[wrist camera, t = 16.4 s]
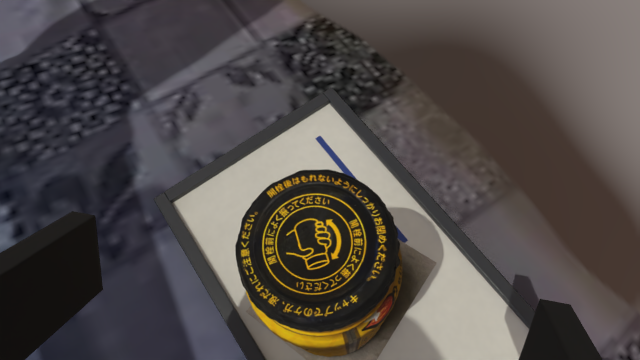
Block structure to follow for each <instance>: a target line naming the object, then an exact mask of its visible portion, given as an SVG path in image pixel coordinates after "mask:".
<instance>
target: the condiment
mask: <svg viewBox="0 0 640 360" xmlns="http://www.w3.org/2000/svg"><path fill="white" fill-rule="evenodd" d="M235 255H236V261H237V266H238V271H239V274H240V278H241V282H242V285H243V287H244V288H245V289H246V294H247V296H248V299H249V301H250V303H251V306H250V307H249V309H248V310H247V311H246V312H247V313H248V314H249V315H250V316H252V317H253V318H254V319H256V320H257V321H258V322H259V323H261V324H262V325H263V326H264V327H266V328H267V329H268V330H269V331H271V332H272V333H273V334H274V335H276V336H277V337H278V338H280V339H281V340H282V341H283V342H285V343H286V344H287V345H288V346H290V347H291V348H292V349H293V350H295V351H296V352H297V353H298V354H300V355H301V356H302V357H303V358H305V359H306V360H377V359H378V357H379V355H380V354H381V352H382V350H383V349H384V347H385V346H386V344H387V342H388V341H389V339H390V338H391V336H392V334H393V333H394V331H395V330H396V328H397V326H398V325H399V323H400V321H401V320H402V318H403V317H404V315H405V314H406V312H407V310H408V309H409V307H410V305H411V304H412V302H413V301H414V299H415V297H416V296H417V294H418V293H419V291H420V289H421V288H422V286H423V284H424V283H425V281H426V279H427V278H428V276H429V275H430V273H431V271H432V270H433V268H434V267H435V265H436V262H435V261H433V260H431V259H430V258H428V257H427V256H425V255H423V254H421V253H420V252H418V251H417V250H415V249H413V248H412V247H410V246H408V245H407V244H405V243H404V242H402V241H401V240H399V239H398V231H397V227H396V226H395V224H394V218H393V216H392V215H391V212H389V211H388V210H387V208H386V204H385V203H384V202H383V201H382V200H381V198H380V197H379V196H378V195H377V194H376V193H375V192H373V190H372V189H370V188H369V187H368V186H367V185H365V184H364V183H362V182H360V181H358V180H357V179H356V178H354V177H351V176H349V175H347V174H344V173H340V172H337V171H333V170H329V169H325V170H301V171H298V172H296V173H294V174H292V175H289V176H287V177H284V178H283V179H281V180H279V181H277V182H274V183H272V184H270V185H269V186H268V187H267V188H266V189H265V190H264V191H262V193H261V194H260V195H259V196H258V197H257V198H256V199H255V200H254V201H253V202H252V204H251V206H250V208H249V209H248V210H247V211H246V213H245V215H244V217H243V218H242V222H241V228H240V232H239V234H238V240H237V242H236V245H235Z"/></svg>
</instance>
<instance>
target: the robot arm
mask: <svg viewBox="0 0 640 360" xmlns="http://www.w3.org/2000/svg"><path fill="white" fill-rule="evenodd" d="M102 290H103V286H102V277H101V267H100V258H99V248H98V239H97V229H96V220H95V215H90V214H84V213H79V212H74V211H72V212H71V213H69V214H67V215H66V216H64V217H62V218H60V219H59V220H57V221H55V222H53V223H52V224H50V225H48V226H46V227H45V228H43V229H41V230H40V231H38V232H36V233H34V234H33V235H31V236H29V237H27V238H26V239H24V240H22V241H20V242H19V243H17V244H15V245H14V246H12V247H10V248H8V249H7V250H5V251H3V252H1V253H0V360H25V359H26V358H27V357H28V356H29V355H30V354H31V353H33V352H34V351H35V350H36V349H37V348H38V347H39V346H40V345H42V344H43V343H44V342H45V341H46V340H47V339H48V338H49V337H50V336H52V335H53V334H54V333H55V332H56V331H57V330H58V329H59V328H61V327H62V326H63V325H64V324H65V323H66V322H67V321H68V320H69V319H71V318H72V317H73V316H74V315H75V314H76V313H77V312H78V311H80V310H81V309H82V308H83V307H84V306H85V305H86V304H87V303H88V302H90V301H91V300H92V299H93V298H94V297H95V296H96V295H97V294H99V293H100V292H101V291H102ZM519 360H602V358H601V356H600V355H599V353H598V351H597V350H596V348H595V346H594V344H593V343H592V341H591V339H590V338H589V336H588V334H587V332H586V331H585V329H584V327H583V326H582V324H581V322H580V320H579V319H578V317H577V315H576V314H575V312H574V310H573V308H572V307H571V305H569V304H564V303H559V302H553V301H548V300H543V299H540V301H539V303H538V306H537V309H536V312H535V315H534V318H533V320H532V323H531V326H530V329H529V332H528V335H527V337H526V340H525V343H524V346H523V349H522V352H521V354H520V357H519Z"/></svg>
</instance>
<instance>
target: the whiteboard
mask: <svg viewBox="0 0 640 360" xmlns="http://www.w3.org/2000/svg"><path fill="white" fill-rule="evenodd" d="M325 169H329V170H333V171H337V172H340V173H344V174H347V175H349V176H351V177H354V178H356V179H357V180H358V181H360V182H362V183H364V184H365V185H367V186H368V187H369V188H370V189H372V190H373V192H375V193H376V194H377V195H378V196H379V197H380V198H381V200H382V201H383V202H384V203H385V204H386V208H387V210H388V211H389V212H391V215H392V216H393V218H394V224H395V226H396V227H397V231H398V239H399V240H401V241H402V242H404V243H405V244H407V245H408V246H410V247H412V248H413V249H415V250H417V251H418V252H420V253H421V254H423V255H425V256H427V257H428V258H430V259H431V260H433V261H435V262H436V265H435V267H434V268H433V270H432V271H431V273H430V275H429V276H428V278H427V279H426V281H425V283H424V284H423V286H422V288H421V289H420V291H419V293H418V294H417V296H416V297H415V299H414V301H413V302H412V304H411V305H410V307H409V309H408V310H407V312H406V314H405V315H404V317H403V318H402V320H401V321H400V323H399V325H398V326H397V328H396V330H395V331H394V333H393V334H392V336H391V338H390V339H389V341H388V342H387V344H386V346H385V347H384V349H383V350H382V352H381V354H380V355H379V357H378V359H377V360H519V357H520V354H521V352H522V349H523V346H524V343H525V340H526V337H527V335H528V332H529V329H530V326H531V323H532V320H533V318H534V315H535V311H534V310H533V309H532V308H531V307H530V306H529V305H528V303H527V302H526V301H525V300H524V299H523V298H522V297H521V296H520V295H519V294H518V292H517V291H516V290H515V289H514V288H513V287H512V286H511V285H510V284H509V283H508V281H507V280H506V279H505V278H504V277H503V276H502V275H501V274H500V273H499V271H498V270H497V269H496V268H495V267H494V266H493V265H492V264H491V263H490V262H489V260H488V259H487V258H486V257H485V256H484V255H483V254H482V253H481V252H480V251H479V249H478V248H477V247H476V246H475V245H474V244H473V243H472V242H471V241H470V239H469V238H468V237H467V236H466V235H465V234H464V233H463V232H462V231H461V230H460V228H459V227H458V226H457V225H456V224H455V223H454V222H453V221H452V220H451V219H450V217H449V216H448V215H447V214H446V213H445V212H444V211H443V210H442V209H441V207H440V206H439V205H438V204H437V203H436V202H435V201H434V200H433V199H432V198H431V196H430V195H429V194H428V193H427V192H426V191H425V190H424V189H423V188H422V187H421V185H420V184H419V183H418V182H417V181H416V180H415V179H414V178H413V177H412V176H411V174H410V173H409V172H408V171H407V170H406V169H405V168H404V167H403V166H402V164H401V163H400V162H399V161H398V160H397V159H396V158H395V157H394V156H393V155H392V153H391V152H390V151H389V150H388V149H387V148H386V147H385V146H384V145H383V144H382V142H381V141H380V140H379V139H378V138H377V137H376V136H375V135H374V134H373V132H372V131H371V130H370V129H369V128H368V127H367V126H366V125H365V124H364V123H363V121H362V120H361V119H360V118H359V117H358V116H357V115H356V114H355V113H354V112H353V110H352V109H351V108H350V107H349V106H348V105H347V104H346V103H345V102H344V100H343V99H342V98H341V97H340V96H339V95H338V94H337V93H336V92H335V91H334V89H333V88H330V89H329V90H327V91H325V92H324V93H322V94H320V95H318V96H317V97H315V98H314V99H312V100H310V101H309V102H307V103H306V104H304V105H302V106H301V107H299V108H298V109H296V110H294V111H293V112H291V113H290V114H288V115H286V116H285V117H283V118H282V119H280V120H278V121H277V122H275V123H274V124H272V125H270V126H269V127H267V128H266V129H264V130H262V131H261V132H259V133H258V134H256V135H254V136H253V137H251V138H250V139H248V140H246V141H245V142H243V143H242V144H240V145H238V146H237V147H235V148H234V149H232V150H230V151H229V152H227V153H226V154H224V155H222V156H221V157H219V158H218V159H216V160H214V161H213V162H211V163H210V164H208V165H206V166H205V167H203V168H202V169H200V170H199V171H197V172H195V173H194V174H192V175H191V176H189V177H187V178H186V179H184V180H183V181H181V182H179V183H178V184H176V185H175V186H173V187H171V188H170V189H168V190H167V191H165V193H162V194H161V195H159V196H157V197H156V198H154V201H155V203H156V204H157V206H158V208H159V209H160V211H161V213H162V215H163V216H164V218H165V220H166V221H167V223H168V225H169V227H170V228H171V230H172V232H173V233H174V235H175V237H176V239H177V240H178V242H179V244H180V245H181V247H182V249H183V251H184V252H185V254H186V256H187V257H188V259H189V261H190V263H191V264H192V266H193V268H194V269H195V271H196V273H197V275H198V276H199V278H200V280H201V281H202V283H203V285H204V286H205V288H206V290H207V292H208V293H209V295H210V297H211V298H212V300H213V302H214V304H215V305H216V307H217V309H218V310H219V312H220V314H221V316H222V317H223V319H224V321H225V322H226V324H227V326H228V328H229V329H230V331H231V333H232V334H233V336H234V338H235V340H236V341H237V343H238V345H239V346H240V348H241V350H242V351H243V353H244V355H245V357H246V358H247V360H306V359H305V358H303V357H302V356H301V355H300V354H298V353H297V352H296V351H295V350H293V349H292V348H291V347H290V346H288V345H287V344H286V343H285V342H283V341H282V340H281V339H280V338H278V337H277V336H276V335H274V334H273V333H272V332H271V331H269V330H268V329H267V328H266V327H264V326H263V325H262V324H261V323H259V322H258V321H257V320H256V319H254V318H253V317H252V316H250V315H249V314H248V313H247V312H246V311H247V310H248V309H249V307H250V306H251V303H250V301H249V299H248V296H247V294H246V289H245V288H244V287H243V285H242V282H241V278H240V274H239V271H238V266H237V261H236V255H235V245H236V242H237V240H238V234H239V232H240V228H241V222H242V218H243V217H244V215H245V213H246V211H247V210H248V209H249V208H250V206H251V204H252V202H253V201H254V200H255V199H256V198H257V197H258V196H259V195H260V194H261V193H262V191H264V190H265V189H266V188H267V187H268V186H269V185H270V184H272V183H274V182H277V181H279V180H281V179H283V178H284V177H287V176H289V175H292V174H294V173H296V172H298V171H301V170H325Z"/></svg>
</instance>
